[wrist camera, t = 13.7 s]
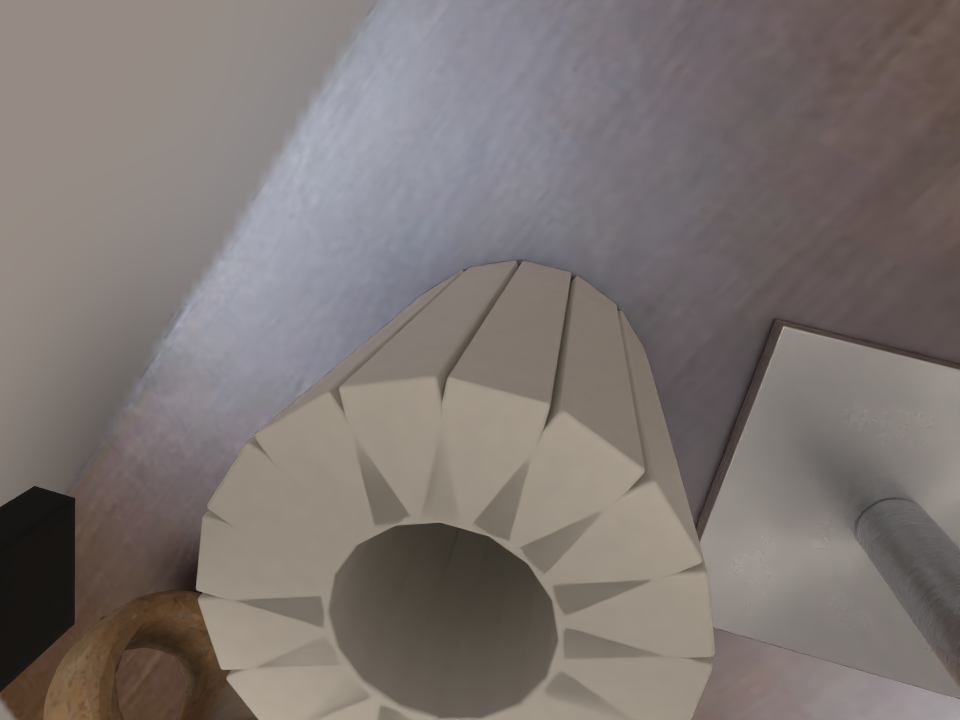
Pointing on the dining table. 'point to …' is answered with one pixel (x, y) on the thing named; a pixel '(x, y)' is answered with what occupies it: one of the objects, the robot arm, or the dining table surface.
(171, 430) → the dining table surface
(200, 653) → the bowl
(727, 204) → the dining table surface
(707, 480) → the dining table surface
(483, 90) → the dining table surface
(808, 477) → the towel stand
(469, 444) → the paper towel roll
